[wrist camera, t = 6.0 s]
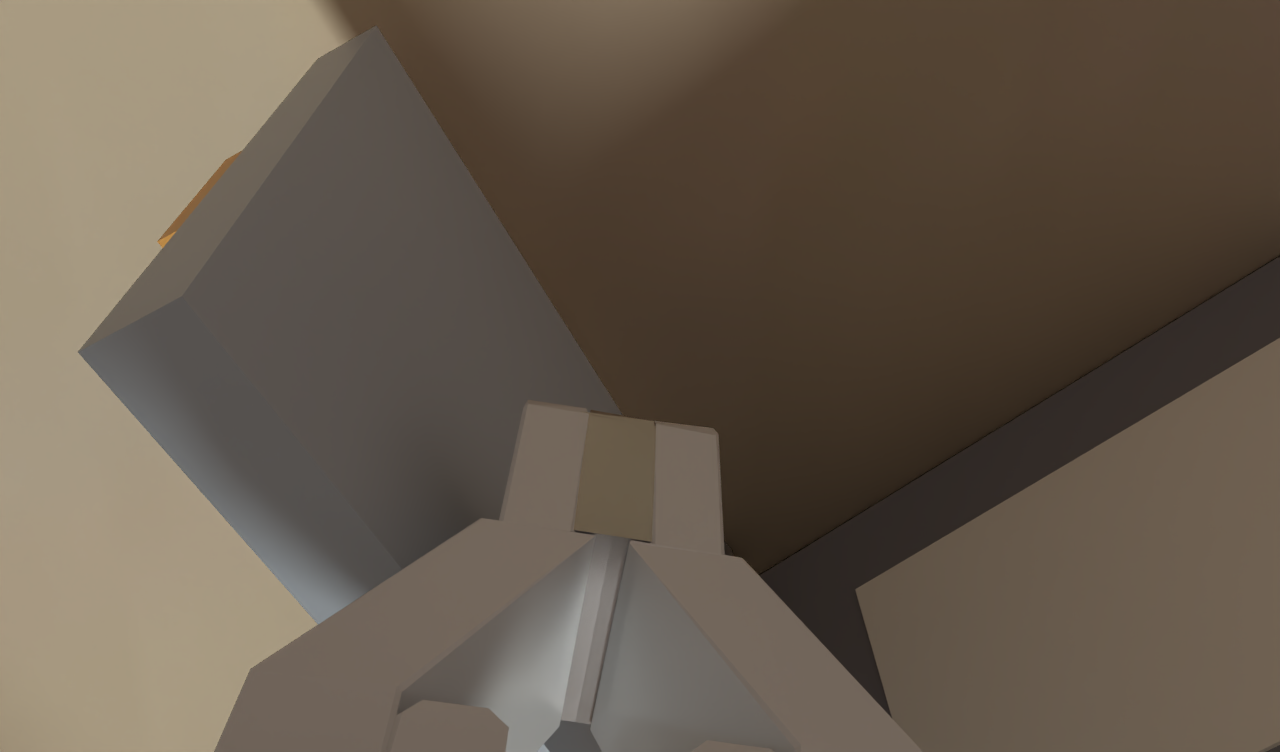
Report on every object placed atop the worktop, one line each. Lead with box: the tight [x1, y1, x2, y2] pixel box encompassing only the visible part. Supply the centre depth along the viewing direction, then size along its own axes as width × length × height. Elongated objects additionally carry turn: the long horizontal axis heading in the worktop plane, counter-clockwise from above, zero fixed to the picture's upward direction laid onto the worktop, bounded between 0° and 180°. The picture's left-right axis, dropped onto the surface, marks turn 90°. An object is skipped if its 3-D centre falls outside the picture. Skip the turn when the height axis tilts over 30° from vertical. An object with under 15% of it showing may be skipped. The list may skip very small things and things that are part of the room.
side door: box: [78, 25, 734, 752], centre depth 13 cm, size 10×1×8 cm, turn 28°
